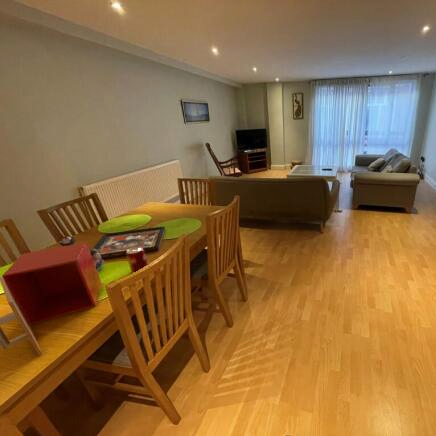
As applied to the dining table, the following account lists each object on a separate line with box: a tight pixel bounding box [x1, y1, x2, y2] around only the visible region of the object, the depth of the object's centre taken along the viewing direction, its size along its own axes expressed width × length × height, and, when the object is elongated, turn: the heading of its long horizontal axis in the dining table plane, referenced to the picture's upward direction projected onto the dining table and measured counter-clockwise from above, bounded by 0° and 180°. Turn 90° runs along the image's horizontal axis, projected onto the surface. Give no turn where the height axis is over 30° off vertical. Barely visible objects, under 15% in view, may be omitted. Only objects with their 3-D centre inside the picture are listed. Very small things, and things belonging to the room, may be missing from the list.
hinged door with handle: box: [0, 276, 43, 356], centre depth 75 cm, size 6×20×21 cm, turn 54°
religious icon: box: [92, 226, 166, 259], centre depth 144 cm, size 38×35×3 cm
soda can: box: [125, 247, 149, 274], centre depth 116 cm, size 7×7×12 cm
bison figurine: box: [89, 247, 105, 273], centre depth 116 cm, size 12×7×10 cm, turn 14°
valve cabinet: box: [1, 241, 103, 325], centre depth 94 cm, size 16×20×22 cm
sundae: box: [58, 233, 77, 247], centre depth 127 cm, size 7×7×15 cm
